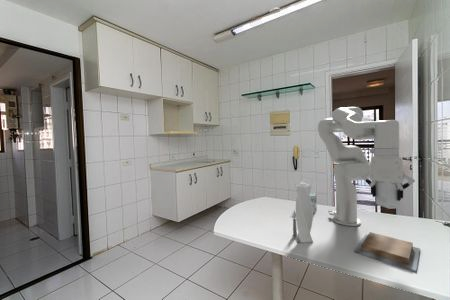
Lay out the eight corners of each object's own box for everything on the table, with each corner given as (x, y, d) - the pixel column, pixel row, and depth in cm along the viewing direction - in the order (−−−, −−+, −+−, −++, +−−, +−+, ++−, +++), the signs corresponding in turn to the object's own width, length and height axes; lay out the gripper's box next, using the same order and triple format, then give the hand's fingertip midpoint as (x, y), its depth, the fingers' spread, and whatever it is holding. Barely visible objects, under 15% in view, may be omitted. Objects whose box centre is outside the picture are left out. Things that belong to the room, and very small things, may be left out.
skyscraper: (310, 235, 97) (308, 177, 95) (317, 244, 89) (316, 180, 87) (292, 236, 97) (290, 178, 95) (298, 245, 89) (296, 181, 87)
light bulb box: (317, 209, 128) (316, 192, 127) (315, 213, 122) (314, 195, 121) (299, 207, 133) (298, 191, 133) (296, 210, 128) (296, 193, 127)
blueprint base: (354, 252, 81) (354, 244, 81) (365, 235, 93) (365, 229, 93) (416, 272, 68) (416, 263, 68) (419, 249, 80) (420, 242, 80)
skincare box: (398, 208, 77) (399, 176, 76) (387, 209, 76) (387, 177, 76) (385, 203, 83) (385, 173, 82) (374, 203, 83) (374, 174, 82)
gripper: (357, 153, 82) (357, 196, 83) (416, 154, 69) (416, 205, 70) (362, 151, 87) (362, 192, 88) (418, 152, 74) (417, 199, 76)
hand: (386, 197), depth 79 cm, fingers closed on skincare box, 7 cm apart
